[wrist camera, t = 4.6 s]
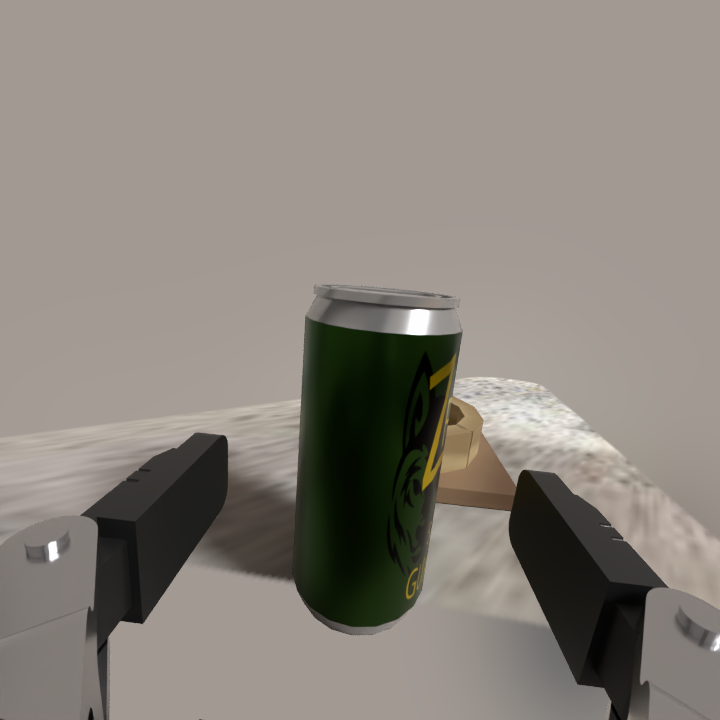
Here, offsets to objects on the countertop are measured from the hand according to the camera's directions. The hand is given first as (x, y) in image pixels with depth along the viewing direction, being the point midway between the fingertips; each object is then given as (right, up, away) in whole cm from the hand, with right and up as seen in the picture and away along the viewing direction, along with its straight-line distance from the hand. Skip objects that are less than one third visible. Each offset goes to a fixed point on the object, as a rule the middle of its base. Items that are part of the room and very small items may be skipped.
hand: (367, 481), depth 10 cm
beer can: (0, -6, +5) cm, 8 cm away
